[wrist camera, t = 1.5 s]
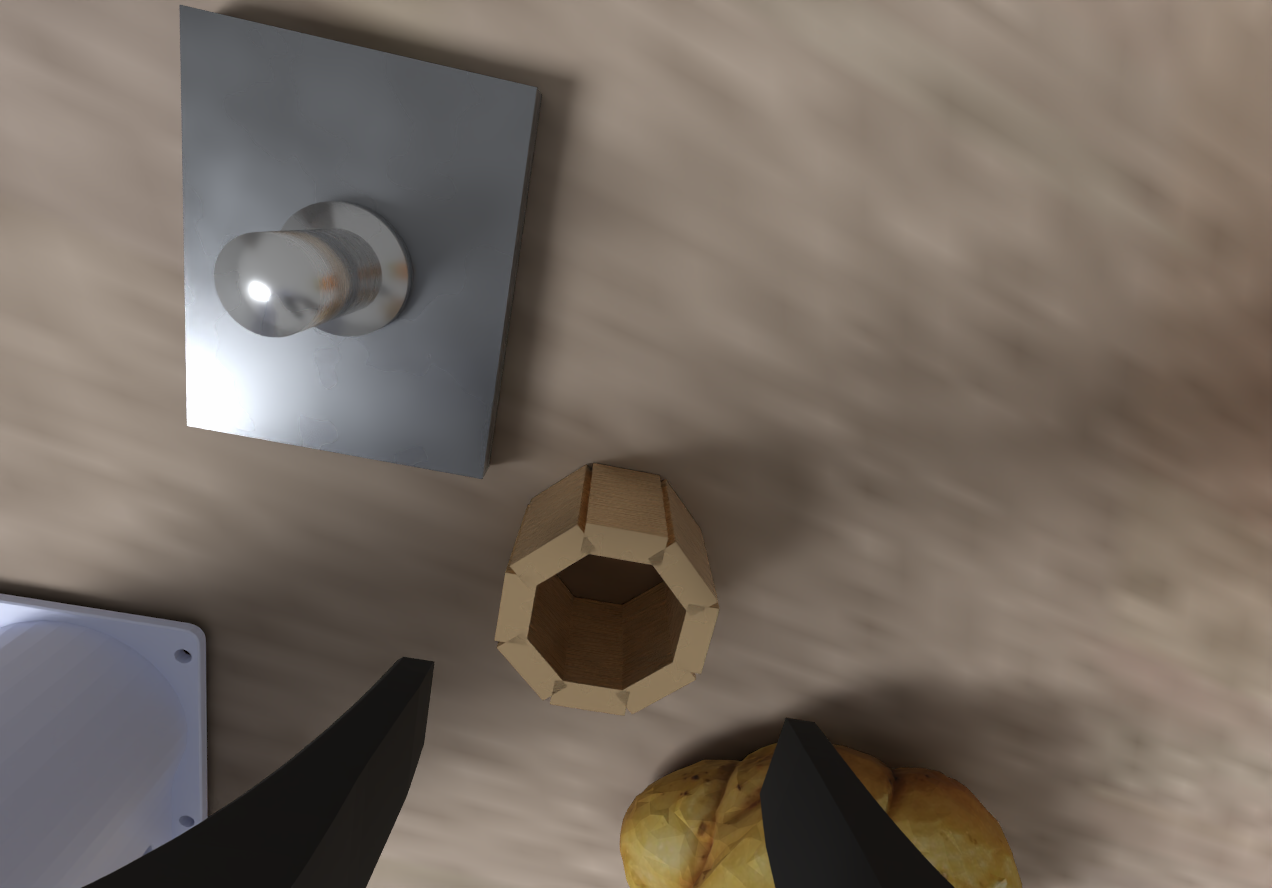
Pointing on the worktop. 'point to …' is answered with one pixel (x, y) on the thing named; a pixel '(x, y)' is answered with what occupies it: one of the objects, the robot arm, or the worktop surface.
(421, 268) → the stub shaft
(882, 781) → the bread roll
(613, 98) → the worktop surface
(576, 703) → the hub ring
